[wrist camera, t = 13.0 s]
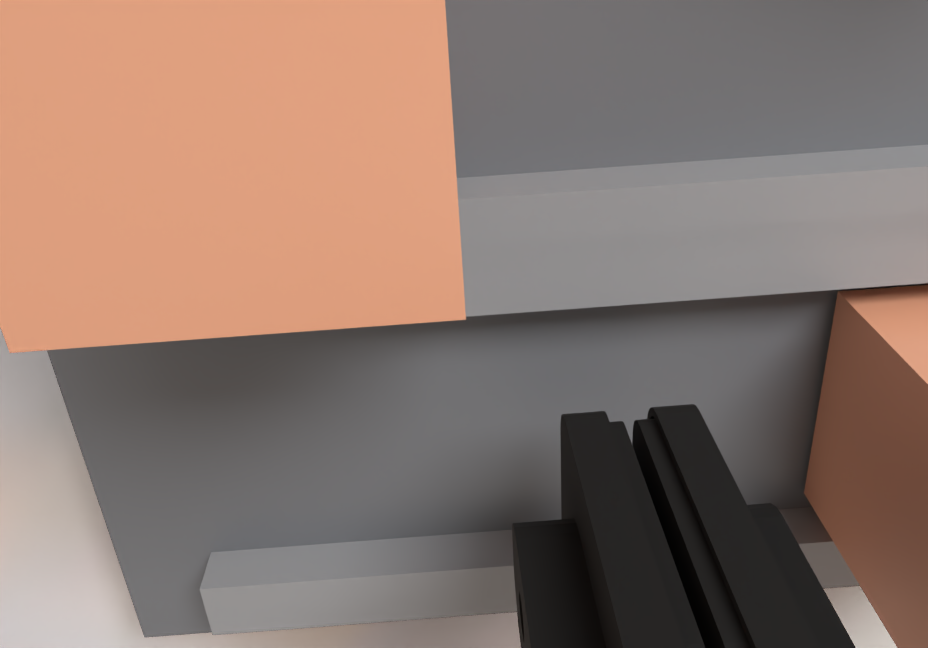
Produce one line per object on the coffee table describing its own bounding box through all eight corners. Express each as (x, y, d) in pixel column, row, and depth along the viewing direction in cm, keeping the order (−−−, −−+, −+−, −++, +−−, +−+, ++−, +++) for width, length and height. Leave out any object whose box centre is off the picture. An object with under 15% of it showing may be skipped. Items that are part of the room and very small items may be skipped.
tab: (83, -161, 9) (-184, -177, 5) (426, -183, 9) (430, -217, 5) (161, 170, 11) (10, 353, 7) (449, 150, 11) (465, 318, 7)
